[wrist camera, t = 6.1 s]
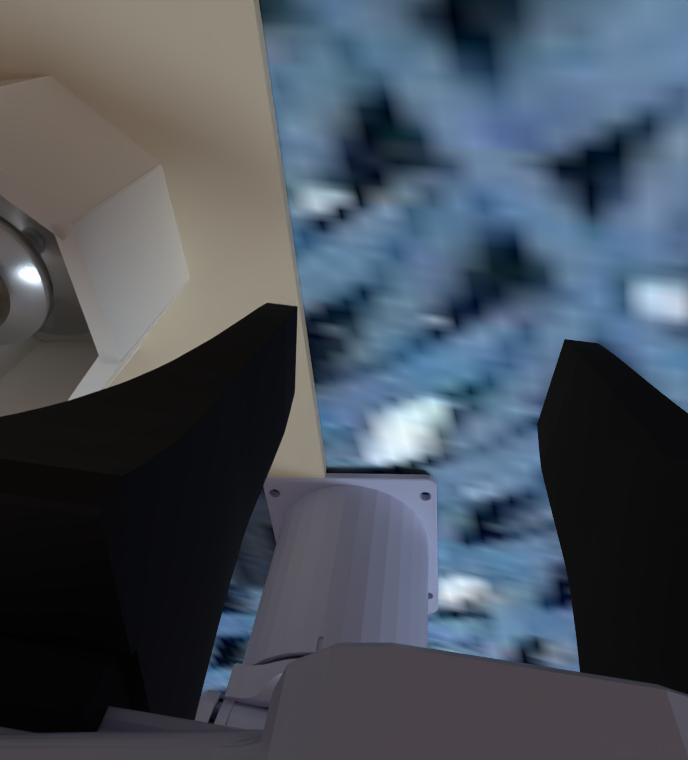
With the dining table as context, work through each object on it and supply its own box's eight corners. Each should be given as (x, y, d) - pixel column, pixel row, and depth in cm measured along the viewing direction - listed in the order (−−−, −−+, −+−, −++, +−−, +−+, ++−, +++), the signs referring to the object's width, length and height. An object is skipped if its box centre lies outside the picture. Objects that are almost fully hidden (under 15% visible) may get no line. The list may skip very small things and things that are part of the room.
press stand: (326, 469, 28) (300, 589, 22) (-22, 464, 30) (-121, 569, 25) (218, -271, 15) (92, -422, 9) (-370, -160, 17) (-736, -226, 12)
